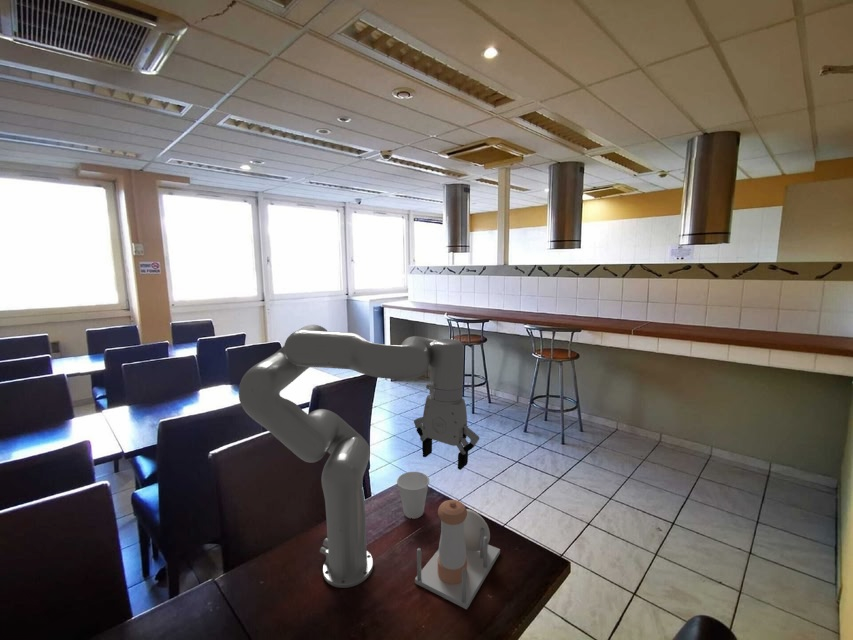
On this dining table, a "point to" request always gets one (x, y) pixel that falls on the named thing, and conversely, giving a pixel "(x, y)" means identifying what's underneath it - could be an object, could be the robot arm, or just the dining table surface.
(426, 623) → the dining table surface
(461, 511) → the salt shaker
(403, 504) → the cup
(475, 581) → the dish rack
